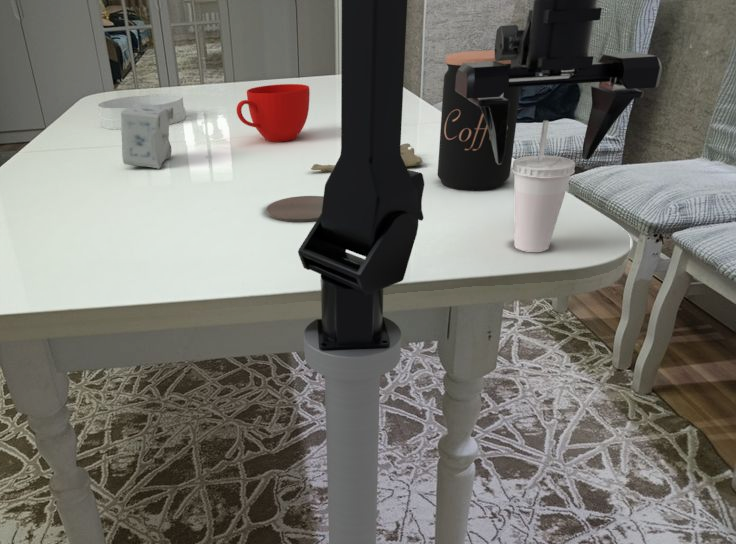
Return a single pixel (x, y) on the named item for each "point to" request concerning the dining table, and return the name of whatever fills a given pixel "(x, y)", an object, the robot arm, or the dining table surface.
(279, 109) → the ceramic cup
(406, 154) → the jawbone
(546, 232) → the smoothie
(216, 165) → the dining table surface
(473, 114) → the coffee jar
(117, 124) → the dish
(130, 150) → the incense holder
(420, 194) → the robot arm
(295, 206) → the coaster
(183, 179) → the dining table surface
